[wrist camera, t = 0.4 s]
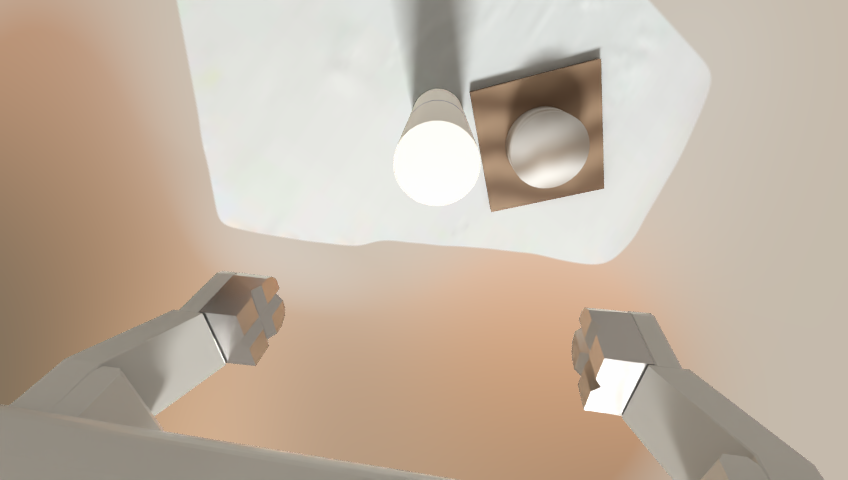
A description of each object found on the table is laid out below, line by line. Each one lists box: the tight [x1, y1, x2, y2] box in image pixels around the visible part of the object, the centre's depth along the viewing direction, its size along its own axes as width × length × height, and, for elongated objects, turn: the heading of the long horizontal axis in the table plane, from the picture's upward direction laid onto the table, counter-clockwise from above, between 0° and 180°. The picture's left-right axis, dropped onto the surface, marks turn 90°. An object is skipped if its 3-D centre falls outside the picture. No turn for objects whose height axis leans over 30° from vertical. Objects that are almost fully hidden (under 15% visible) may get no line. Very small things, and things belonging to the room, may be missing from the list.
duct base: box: [470, 59, 604, 212], centre depth 50 cm, size 18×17×6 cm
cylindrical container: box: [393, 89, 480, 206], centre depth 41 cm, size 7×7×25 cm
